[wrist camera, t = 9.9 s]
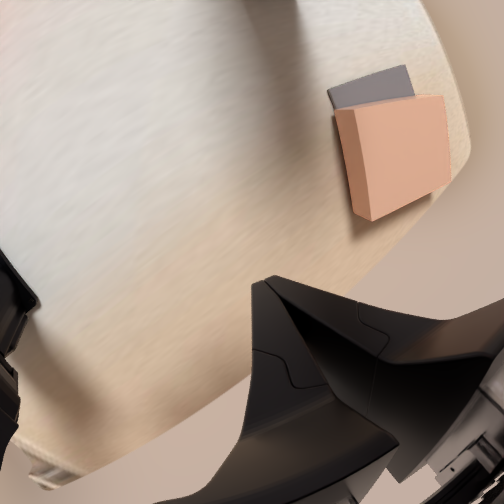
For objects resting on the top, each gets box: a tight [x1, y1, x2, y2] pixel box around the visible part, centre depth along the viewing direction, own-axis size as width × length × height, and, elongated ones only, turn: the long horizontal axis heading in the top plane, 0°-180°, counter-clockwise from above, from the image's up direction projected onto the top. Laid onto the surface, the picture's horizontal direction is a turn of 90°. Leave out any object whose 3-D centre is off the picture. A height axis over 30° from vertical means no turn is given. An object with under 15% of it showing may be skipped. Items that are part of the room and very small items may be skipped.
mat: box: [327, 65, 415, 109], centre depth 22 cm, size 10×10×1 cm
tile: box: [334, 94, 451, 222], centre depth 22 cm, size 3×9×12 cm
